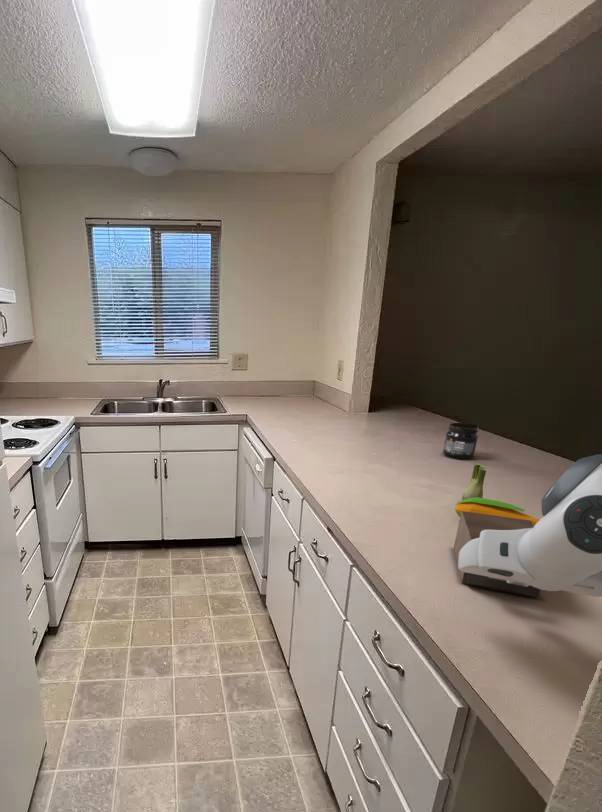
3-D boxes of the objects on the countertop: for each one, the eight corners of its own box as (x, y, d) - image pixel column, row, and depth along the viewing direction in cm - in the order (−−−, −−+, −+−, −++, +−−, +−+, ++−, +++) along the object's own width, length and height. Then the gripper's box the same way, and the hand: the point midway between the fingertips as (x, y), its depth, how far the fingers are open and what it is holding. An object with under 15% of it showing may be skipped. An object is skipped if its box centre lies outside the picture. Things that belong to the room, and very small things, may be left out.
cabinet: (538, 598, 83) (552, 553, 79) (461, 583, 88) (471, 540, 84) (519, 560, 96) (530, 520, 92) (453, 549, 100) (461, 510, 97)
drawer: (544, 610, 78) (556, 572, 75) (469, 595, 82) (478, 559, 80) (519, 561, 93) (529, 528, 91) (458, 551, 98) (465, 519, 95)
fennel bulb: (479, 510, 120) (489, 469, 116) (459, 505, 123) (468, 466, 119) (481, 503, 125) (491, 463, 121) (462, 499, 128) (470, 460, 123)
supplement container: (462, 451, 172) (468, 422, 168) (479, 459, 162) (487, 428, 158) (436, 452, 171) (442, 422, 167) (452, 460, 162) (459, 429, 157)
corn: (462, 487, 116) (557, 508, 103) (457, 512, 119) (548, 535, 106) (454, 497, 111) (553, 520, 98) (449, 523, 114) (544, 548, 101)
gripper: (636, 552, 62) (589, 575, 74) (471, 527, 70) (452, 552, 81) (640, 596, 60) (591, 613, 71) (469, 565, 67) (450, 585, 79)
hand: (516, 580), depth 76 cm, fingers closed
